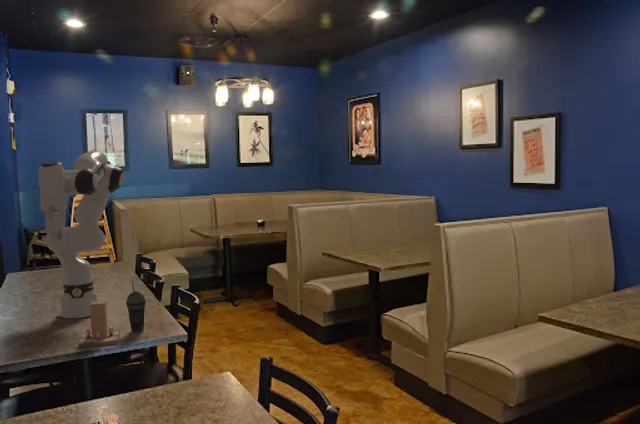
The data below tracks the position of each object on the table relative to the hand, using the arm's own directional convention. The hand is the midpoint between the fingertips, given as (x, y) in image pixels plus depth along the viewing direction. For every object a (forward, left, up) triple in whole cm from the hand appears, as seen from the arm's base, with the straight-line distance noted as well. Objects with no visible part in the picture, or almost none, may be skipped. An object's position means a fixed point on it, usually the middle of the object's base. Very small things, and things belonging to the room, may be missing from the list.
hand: (56, 241), depth 198 cm
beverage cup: (+3, +27, -37) cm, 46 cm away
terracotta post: (+10, +14, -35) cm, 39 cm away
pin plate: (+10, +14, -37) cm, 41 cm away
